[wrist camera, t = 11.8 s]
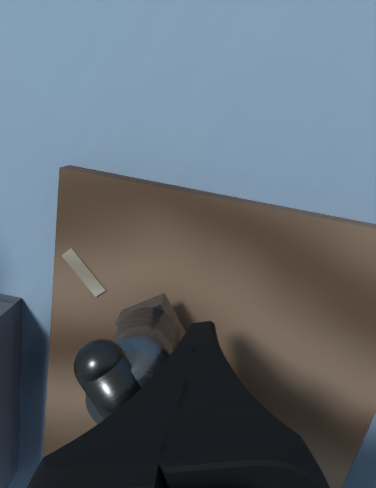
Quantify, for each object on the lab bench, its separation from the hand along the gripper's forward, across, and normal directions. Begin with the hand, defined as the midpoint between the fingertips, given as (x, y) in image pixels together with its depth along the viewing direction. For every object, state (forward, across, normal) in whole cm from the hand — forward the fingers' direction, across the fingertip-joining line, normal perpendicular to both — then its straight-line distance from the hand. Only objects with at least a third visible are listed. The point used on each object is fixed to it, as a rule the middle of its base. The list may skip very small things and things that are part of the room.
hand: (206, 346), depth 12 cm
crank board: (+4, +1, +4) cm, 6 cm away
